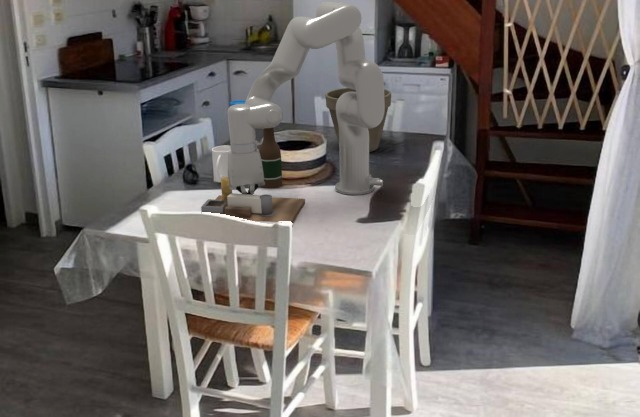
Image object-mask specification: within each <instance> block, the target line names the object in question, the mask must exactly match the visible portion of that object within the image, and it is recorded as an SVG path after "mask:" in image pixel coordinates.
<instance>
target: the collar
mask: <svg viewBox="0 0 640 417" xmlns="http://www.w3.org/2000/svg"><path fill="white" fill-rule="evenodd" d="M226 206H228V202H227V200H215V199H207V200H206V201H205V202H204V203H203V204H202V206H201V207H200V210H201V213H202V212H211V213H220V214H225V207H226Z"/></svg>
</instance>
